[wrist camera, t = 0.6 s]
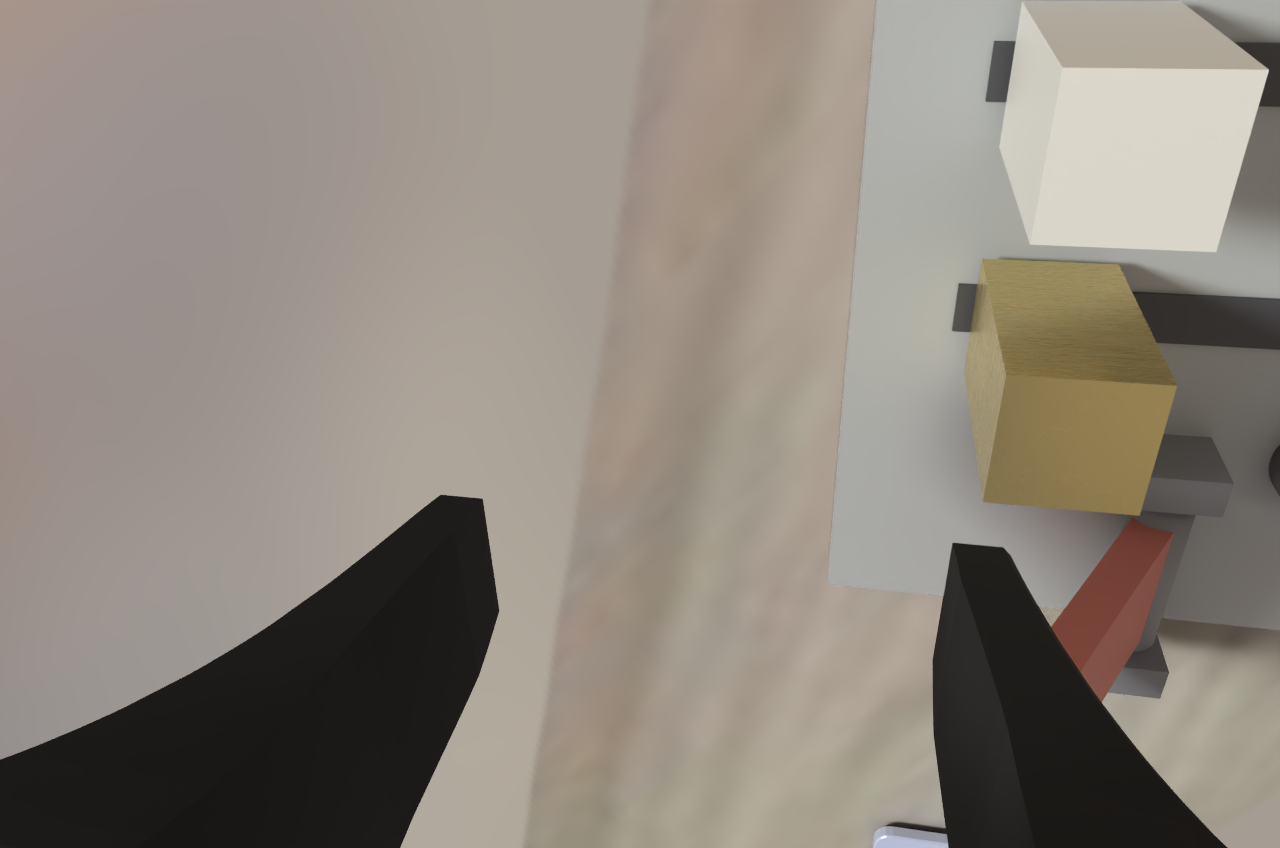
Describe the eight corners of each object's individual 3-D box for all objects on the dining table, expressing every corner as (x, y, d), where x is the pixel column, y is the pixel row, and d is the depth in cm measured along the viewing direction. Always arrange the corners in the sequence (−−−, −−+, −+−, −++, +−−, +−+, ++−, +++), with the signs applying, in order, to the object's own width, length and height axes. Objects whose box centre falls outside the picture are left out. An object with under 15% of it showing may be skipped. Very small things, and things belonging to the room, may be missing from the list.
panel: (1301, 627, 24) (1346, 720, 22) (827, 579, 26) (822, 659, 24) (1603, -73, 16) (1727, -47, 13) (881, -65, 18) (881, -40, 15)
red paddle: (1162, 629, 22) (1039, 830, 18) (1107, 605, 23) (976, 793, 19) (1205, 498, 20) (1079, 690, 16) (1143, 477, 21) (1007, 656, 17)
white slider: (1145, 150, 17) (1215, 252, 14) (998, 147, 18) (1030, 244, 14) (1180, 1, 16) (1269, 69, 12) (1021, 1, 16) (1062, 67, 13)
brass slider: (1091, 378, 20) (1139, 515, 16) (963, 370, 20) (983, 502, 17) (1118, 264, 18) (1177, 385, 15) (981, 258, 19) (1006, 374, 15)
